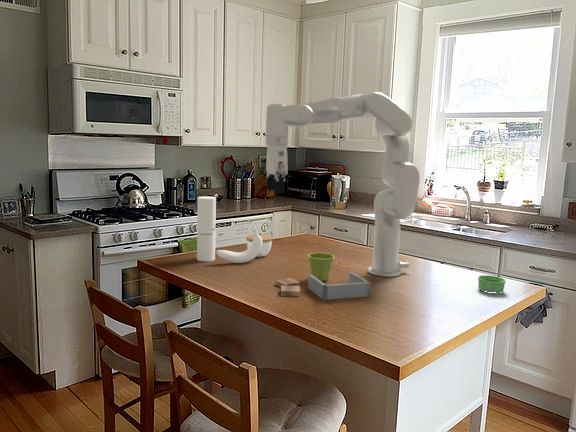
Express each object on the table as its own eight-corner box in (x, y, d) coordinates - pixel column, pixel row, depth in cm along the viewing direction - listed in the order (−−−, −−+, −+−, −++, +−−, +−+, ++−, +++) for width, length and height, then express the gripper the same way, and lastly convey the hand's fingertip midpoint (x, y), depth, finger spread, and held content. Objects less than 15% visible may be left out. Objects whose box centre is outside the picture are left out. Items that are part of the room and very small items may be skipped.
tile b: (299, 292, 171) (299, 286, 171) (299, 297, 165) (299, 291, 165) (281, 291, 171) (281, 285, 171) (280, 296, 165) (280, 290, 165)
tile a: (289, 283, 180) (290, 278, 180) (300, 288, 176) (300, 282, 175) (275, 286, 177) (275, 280, 177) (285, 290, 172) (285, 284, 172)
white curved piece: (215, 263, 202) (215, 226, 200) (258, 259, 212) (259, 223, 210) (220, 266, 198) (220, 228, 196) (264, 261, 208) (265, 225, 206)
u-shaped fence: (351, 284, 180) (352, 272, 179) (370, 296, 168) (371, 282, 167) (308, 287, 174) (308, 274, 174) (323, 300, 162) (324, 286, 161)
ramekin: (487, 295, 174) (488, 282, 173) (471, 287, 182) (472, 275, 182) (510, 294, 176) (511, 281, 176) (493, 286, 185) (494, 274, 184)
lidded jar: (240, 255, 218) (241, 233, 216) (256, 251, 226) (257, 230, 225) (261, 259, 212) (261, 236, 210) (276, 255, 220) (277, 233, 219)
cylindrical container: (218, 259, 210) (219, 197, 206) (206, 262, 204) (207, 199, 200) (205, 256, 213) (205, 196, 210) (193, 259, 207) (193, 197, 204)
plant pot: (331, 284, 180) (332, 259, 179) (304, 281, 182) (305, 257, 181) (334, 277, 189) (335, 253, 188) (309, 274, 191) (310, 251, 190)
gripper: (296, 142, 168) (294, 194, 171) (279, 141, 184) (277, 188, 187) (274, 141, 166) (272, 194, 169) (258, 140, 182) (257, 188, 185)
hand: (275, 191), depth 178 cm, fingers open, 9 cm apart
